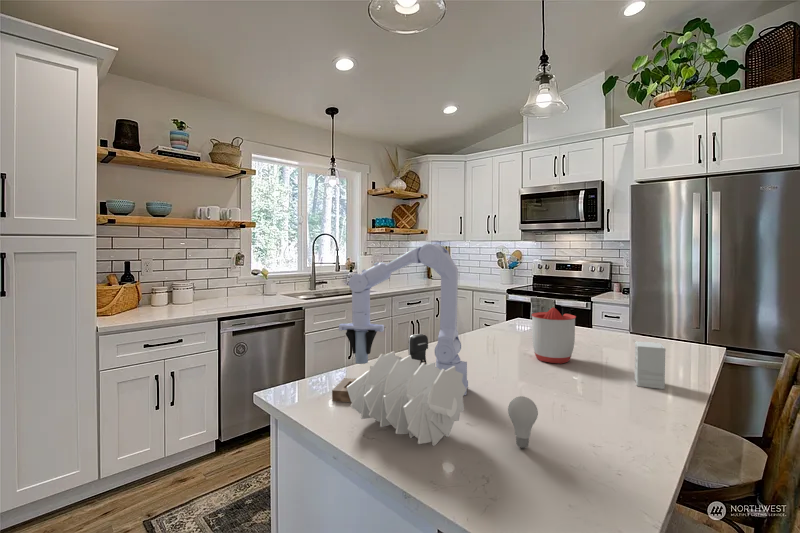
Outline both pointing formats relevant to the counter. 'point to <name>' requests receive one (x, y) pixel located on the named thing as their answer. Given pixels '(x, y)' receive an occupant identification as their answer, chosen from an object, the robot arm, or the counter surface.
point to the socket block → (342, 391)
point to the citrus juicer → (553, 336)
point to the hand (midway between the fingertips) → (361, 353)
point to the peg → (361, 347)
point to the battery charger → (418, 347)
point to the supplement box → (650, 364)
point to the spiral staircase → (409, 396)
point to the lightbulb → (522, 418)
